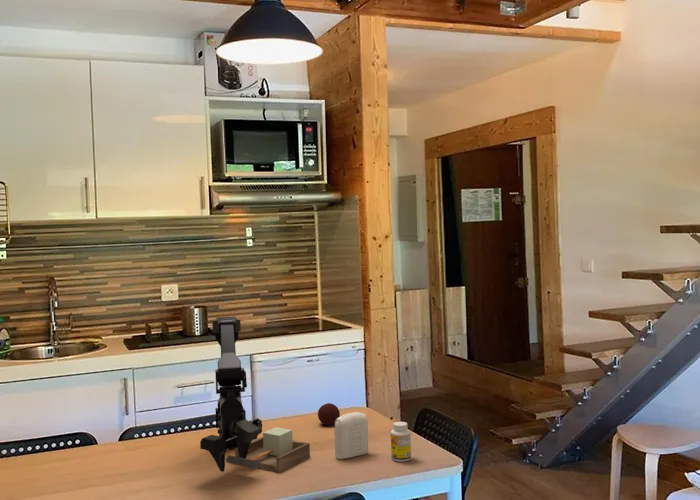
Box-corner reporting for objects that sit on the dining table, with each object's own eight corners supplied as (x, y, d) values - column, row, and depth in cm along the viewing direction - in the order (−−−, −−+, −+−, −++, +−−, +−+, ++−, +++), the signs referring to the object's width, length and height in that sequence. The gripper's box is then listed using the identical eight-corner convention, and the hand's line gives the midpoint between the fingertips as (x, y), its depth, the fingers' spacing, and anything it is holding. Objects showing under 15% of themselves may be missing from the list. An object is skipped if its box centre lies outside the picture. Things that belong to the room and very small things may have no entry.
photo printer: (362, 449, 201) (361, 408, 201) (370, 453, 198) (369, 411, 197) (333, 457, 196) (331, 414, 195) (341, 461, 192) (339, 418, 192)
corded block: (226, 466, 186) (225, 445, 185) (271, 446, 202) (270, 426, 202) (254, 473, 180) (253, 451, 180) (298, 451, 197) (297, 430, 196)
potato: (316, 427, 224) (315, 406, 224) (320, 420, 232) (320, 400, 232) (337, 428, 223) (337, 407, 223) (342, 421, 231) (341, 400, 231)
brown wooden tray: (235, 462, 193) (235, 449, 193) (267, 448, 205) (266, 435, 205) (279, 472, 184) (279, 458, 184) (309, 457, 196) (309, 443, 196)
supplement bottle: (390, 456, 195) (389, 421, 195) (409, 455, 196) (408, 420, 195) (392, 462, 190) (391, 426, 189) (412, 462, 190) (411, 426, 190)
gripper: (229, 423, 173) (231, 483, 173) (275, 405, 188) (277, 461, 189) (197, 417, 179) (199, 475, 179) (245, 400, 194) (246, 454, 195)
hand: (232, 466), depth 186 cm, fingers open, 8 cm apart
